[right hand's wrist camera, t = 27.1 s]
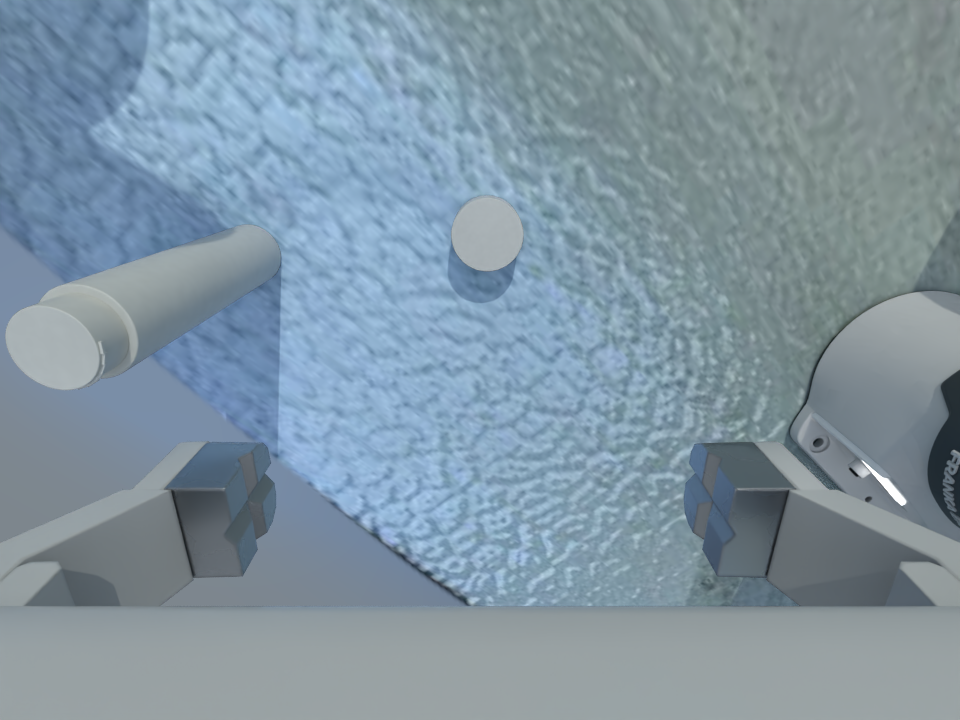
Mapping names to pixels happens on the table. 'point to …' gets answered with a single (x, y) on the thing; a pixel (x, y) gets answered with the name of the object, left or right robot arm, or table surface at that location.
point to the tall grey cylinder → (136, 307)
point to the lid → (487, 233)
